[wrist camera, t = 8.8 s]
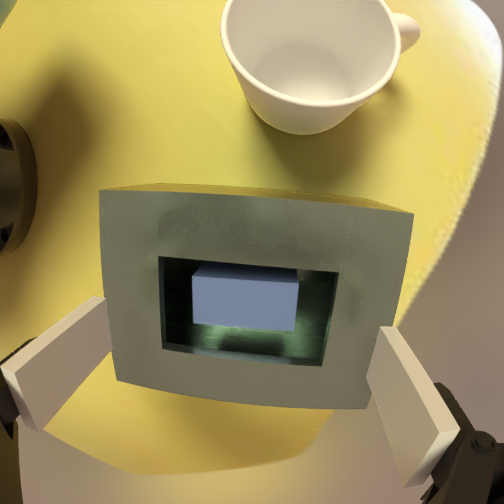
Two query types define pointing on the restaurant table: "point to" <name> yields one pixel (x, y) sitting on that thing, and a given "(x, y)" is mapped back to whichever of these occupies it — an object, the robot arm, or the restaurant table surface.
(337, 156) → the restaurant table surface
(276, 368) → the coin box
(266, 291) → the blue block
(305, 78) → the mug
